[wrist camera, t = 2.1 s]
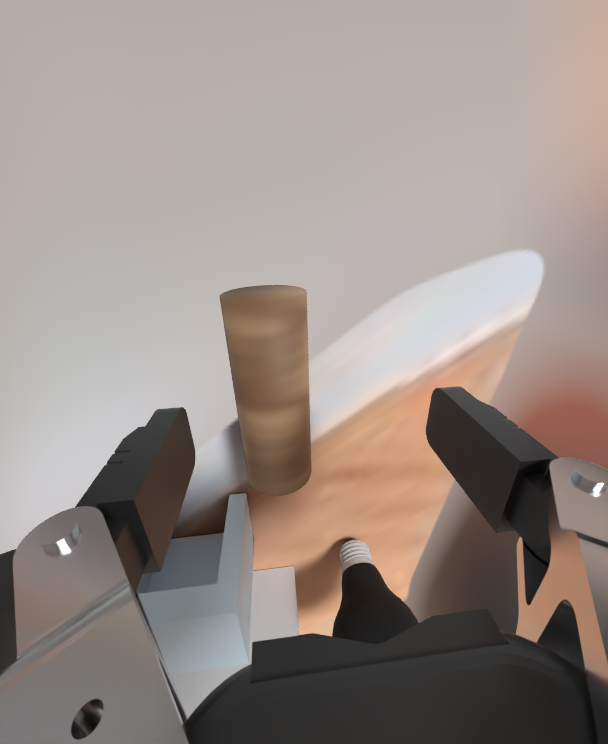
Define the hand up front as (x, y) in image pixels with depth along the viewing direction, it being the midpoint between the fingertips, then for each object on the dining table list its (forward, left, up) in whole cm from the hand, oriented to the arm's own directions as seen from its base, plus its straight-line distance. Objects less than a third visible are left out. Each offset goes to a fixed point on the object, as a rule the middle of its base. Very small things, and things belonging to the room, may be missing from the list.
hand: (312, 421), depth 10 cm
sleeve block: (+14, -8, -8) cm, 18 cm away
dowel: (+3, 0, -8) cm, 8 cm away
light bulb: (+19, +4, -8) cm, 21 cm away
